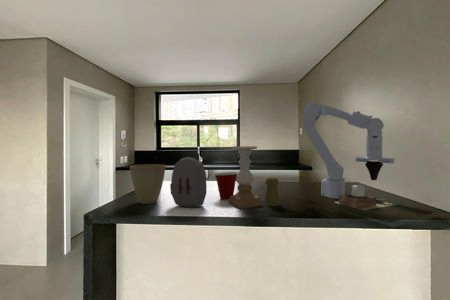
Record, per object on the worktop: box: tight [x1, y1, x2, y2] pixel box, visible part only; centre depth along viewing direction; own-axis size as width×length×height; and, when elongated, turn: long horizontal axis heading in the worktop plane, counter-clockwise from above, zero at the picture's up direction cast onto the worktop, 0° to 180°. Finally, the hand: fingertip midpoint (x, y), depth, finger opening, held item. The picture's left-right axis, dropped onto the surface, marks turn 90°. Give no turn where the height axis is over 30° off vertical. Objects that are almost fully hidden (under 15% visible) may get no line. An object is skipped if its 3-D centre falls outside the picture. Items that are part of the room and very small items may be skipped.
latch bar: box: [375, 197, 388, 203], centre depth 105 cm, size 9×3×1 cm, turn 25°
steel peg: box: [350, 184, 366, 199], centre depth 101 cm, size 4×4×7 cm
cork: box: [264, 177, 281, 207], centre depth 107 cm, size 6×6×11 cm
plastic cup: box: [213, 171, 239, 201], centre depth 119 cm, size 11×11×12 cm
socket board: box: [333, 193, 397, 211], centre depth 103 cm, size 14×18×4 cm
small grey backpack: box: [169, 156, 208, 208], centre depth 104 cm, size 15×8×20 cm, turn 72°
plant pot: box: [129, 163, 166, 205], centre depth 114 cm, size 15×15×16 cm
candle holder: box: [227, 145, 264, 210], centre depth 107 cm, size 11×11×24 cm
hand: (374, 179), depth 109 cm, fingers closed
